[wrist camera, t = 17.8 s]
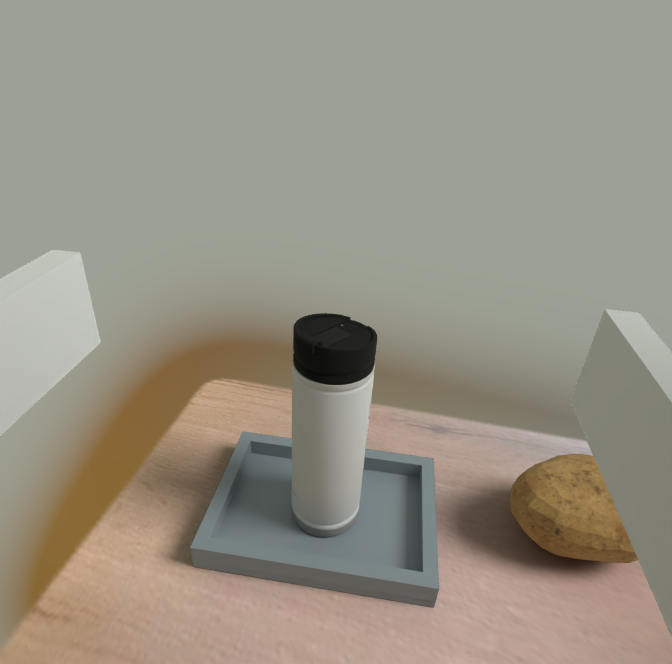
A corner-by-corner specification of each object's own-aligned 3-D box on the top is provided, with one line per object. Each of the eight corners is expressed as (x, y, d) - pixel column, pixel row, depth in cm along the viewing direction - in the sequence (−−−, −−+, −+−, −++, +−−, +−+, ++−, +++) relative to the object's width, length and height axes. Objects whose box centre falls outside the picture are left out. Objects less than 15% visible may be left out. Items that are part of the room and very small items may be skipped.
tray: (429, 475, 51) (433, 458, 50) (433, 607, 39) (438, 588, 38) (243, 449, 53) (242, 431, 52) (193, 566, 41) (190, 547, 40)
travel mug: (274, 512, 45) (271, 324, 35) (322, 473, 49) (332, 296, 39) (324, 554, 42) (337, 359, 31) (371, 508, 46) (396, 323, 36)
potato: (481, 497, 49) (498, 437, 45) (612, 492, 50) (641, 434, 46) (521, 591, 41) (547, 528, 36) (677, 582, 42) (719, 521, 38)
